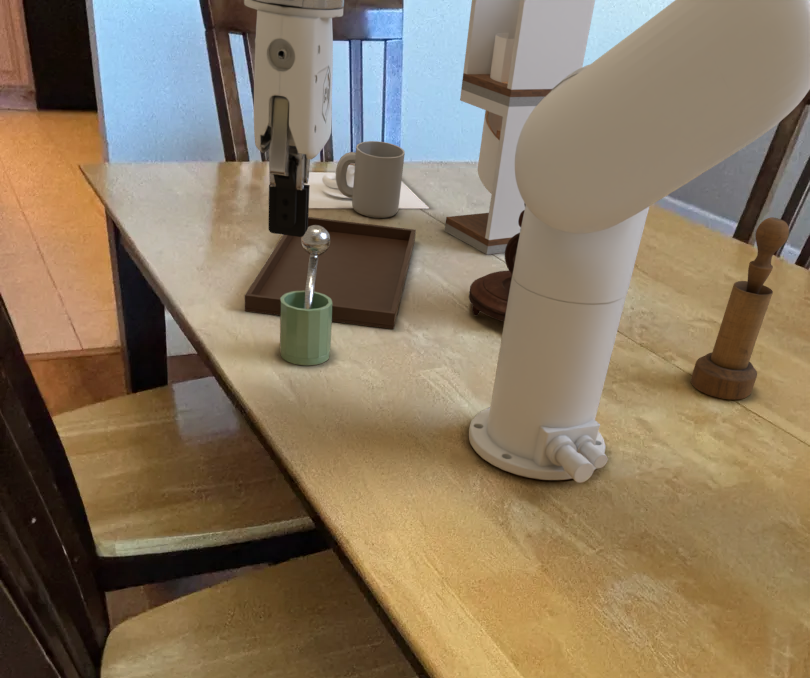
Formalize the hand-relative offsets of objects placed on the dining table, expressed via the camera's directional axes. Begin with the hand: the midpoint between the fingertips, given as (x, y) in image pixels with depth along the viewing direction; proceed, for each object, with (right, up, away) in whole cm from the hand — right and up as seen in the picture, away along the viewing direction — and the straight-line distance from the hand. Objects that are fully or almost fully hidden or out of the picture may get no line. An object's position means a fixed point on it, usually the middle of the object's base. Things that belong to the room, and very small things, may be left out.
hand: (288, 231), depth 77 cm
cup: (+4, +24, +58) cm, 63 cm away
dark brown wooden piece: (+25, 0, +30) cm, 39 cm away
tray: (+2, +7, +36) cm, 36 cm away
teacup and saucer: (+2, +31, +67) cm, 74 cm away
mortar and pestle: (+45, -10, +19) cm, 50 cm away
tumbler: (0, -7, +15) cm, 17 cm away
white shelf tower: (+24, +18, +53) cm, 61 cm away
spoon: (0, -6, +17) cm, 18 cm away
